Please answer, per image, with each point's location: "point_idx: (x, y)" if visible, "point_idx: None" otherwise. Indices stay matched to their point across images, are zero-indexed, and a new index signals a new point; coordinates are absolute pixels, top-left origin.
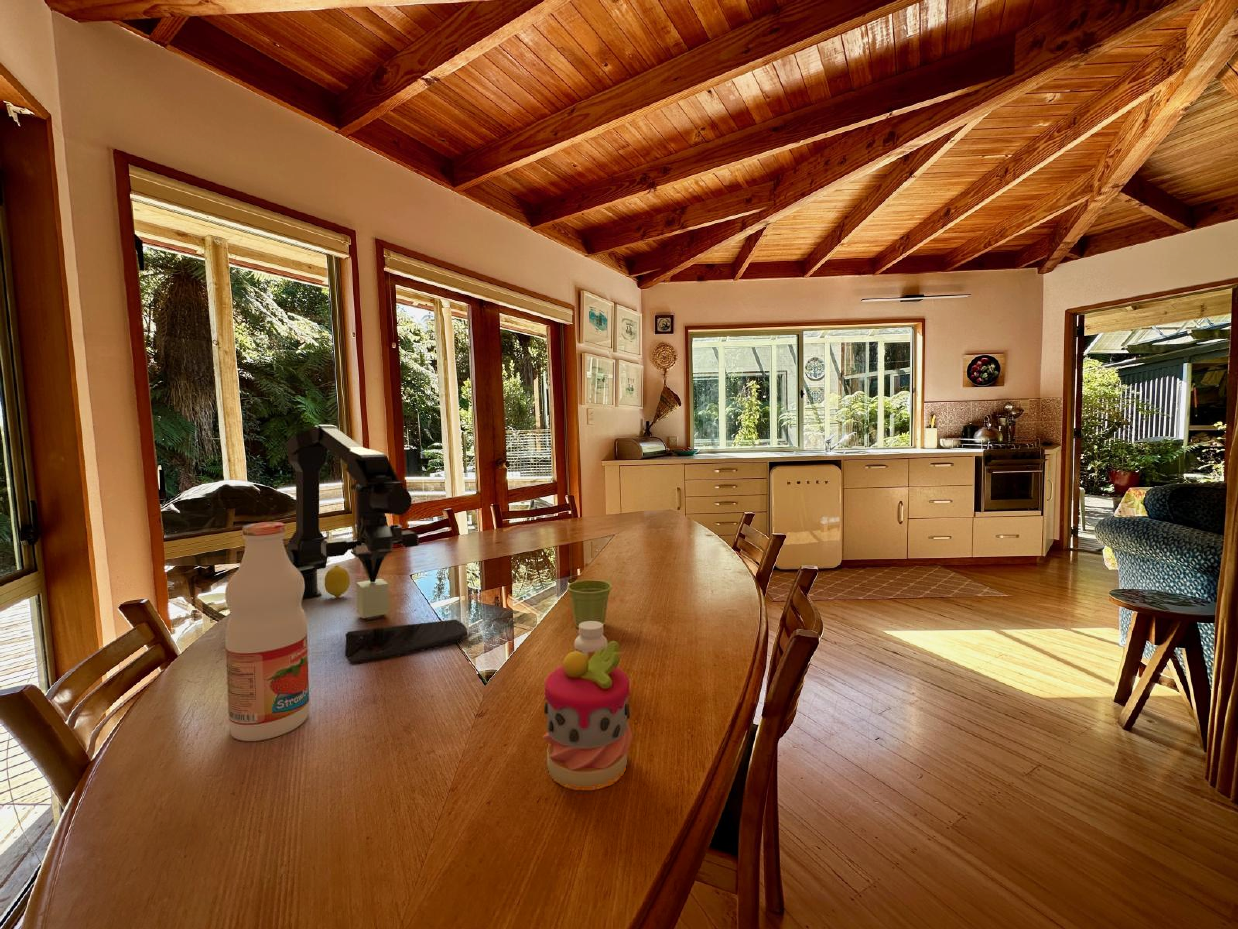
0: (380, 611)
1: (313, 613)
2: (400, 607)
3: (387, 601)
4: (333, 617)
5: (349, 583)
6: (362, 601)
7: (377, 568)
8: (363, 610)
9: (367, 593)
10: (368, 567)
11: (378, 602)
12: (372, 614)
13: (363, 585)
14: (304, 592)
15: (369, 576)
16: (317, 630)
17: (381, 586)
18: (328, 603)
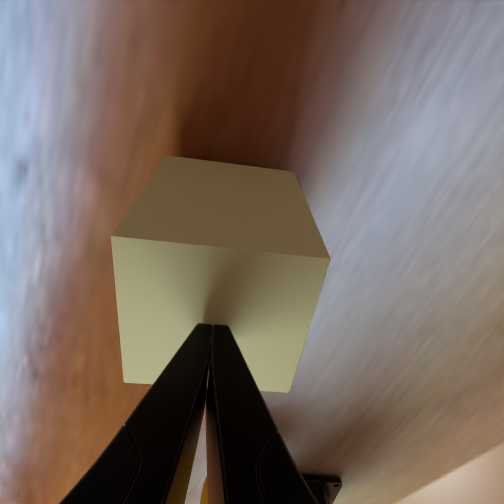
0: (205, 167)
1: (357, 374)
2: (83, 252)
3: (155, 179)
4: (336, 306)
5: (206, 486)
6: (308, 211)
7: (157, 414)
8: (296, 186)
9: (284, 227)
10: (262, 448)
11: (211, 186)
12: (247, 170)
13: (292, 308)
14: (316, 494)
15: (244, 360)
16: (456, 210)
17: (174, 233)
18: (281, 422)
